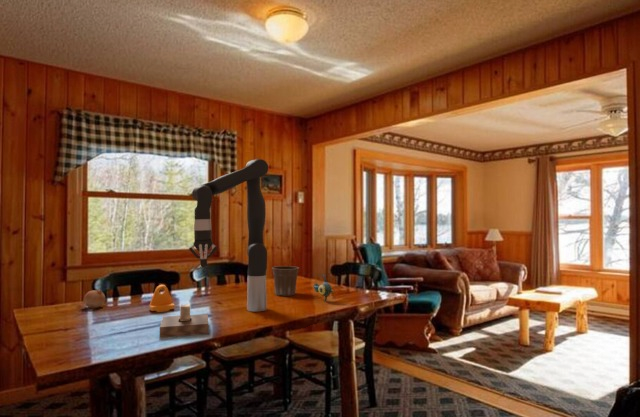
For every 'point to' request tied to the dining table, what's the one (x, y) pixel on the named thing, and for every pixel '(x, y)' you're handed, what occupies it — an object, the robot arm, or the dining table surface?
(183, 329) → the board
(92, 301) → the onion
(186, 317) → the peg
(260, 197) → the robot arm
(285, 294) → the plant pot
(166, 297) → the bracket
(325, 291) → the decorative fish
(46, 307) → the dining table surface
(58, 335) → the dining table surface
